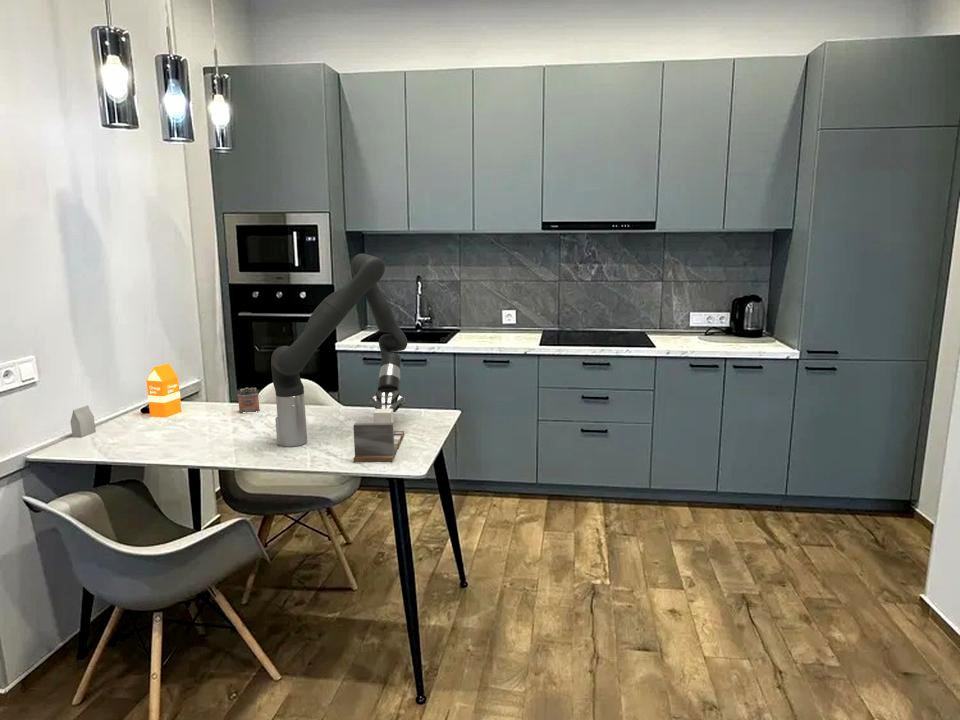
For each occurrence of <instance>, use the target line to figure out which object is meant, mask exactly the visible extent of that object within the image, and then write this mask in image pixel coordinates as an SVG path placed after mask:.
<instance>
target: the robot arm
mask: <svg viewBox="0 0 960 720" xmlns="http://www.w3.org/2000/svg"><path fill="white" fill-rule="evenodd" d="M350 270H351V273H352V274H353V278H352V279H351V280H350V281H349V282H348V283H347V284H345V285H343V286H342V287H341V288H338V289H337V290H335V291H333V292H332V293H330V294H328V295H327V297H325V298H324V299H323V300H322V301H321V302H320V303H319V304H318V305H317V307H316V308H315V309H314V311H313V312H312V313H311V315H310V316H309V319H308V321H307V322H306V325H305V327H304V329H303V331H302V333H301V334H300V335H299V336H298V337H297V339H295V340H294V341H293V343H292V344H291V345H289V346H288V345H282V346H279V347H276V349H275V350H274V351H273V352H272V353H271V354H272V355H271V359H270V365H271V368H270V369H271V376H272V385H273V388H274V390H275V403H276V415H277V416H276V417H275V419H274V420H275V430H276V431H275V432H276V443H277V444H276V445H277V446H280V447H281V446H282V447H298V446H299V447H300V446H303V445H305V444H307V442H308V430H307V415H306V414H307V413H306V403H305V401H306V400H305V388H304V384H303V382H302V379H301V376H300V372H302V371H303V370H304V369H305V367H306V365H307V364H308V363H309V361H310V359H311V358H312V357H313V356H314V353H315V352H316V351H317V350H318V348H319V347H320V346H321V345H322V344H323V343H324V342H325V340H326V339H327V338H328V337H329V336H330V335H331V334H332V332H333V331H335V329H336V328H338V326H339V325H340V324H341V323H342V321H343V320H345V318H346V317H347V315H348V314H349V313H350V312H351V310H352V309H353V308H354V307H355V306H356V305H357V304H358V303H359V301H360V300H362V298H363V297H365V299H366V301H367V303H368V306H369V308H370V310H371V313H372V316H373V318H374V322H375V324H376V327H377V330H378V331H379V332H381V333H383V335H382V334H381V336H380V337H379V339H378V347H379V351H380V355H381V357H380V358H381V360H380V361H381V363H380V370H379V374H378V383H377V391H376V393H375V395H374V396H370V397H369V402H370V404H371V405H372V406H373V407H374V410H375V409H393V413H396V412H397V411H398V410H399V408H401V407H402V406H403V404H405V402H406V400H405V397H404V396H401V395H400V382H401V362H402V360H401V359H402V358H401V356H400V354H398V353H396V352H402V351H405V350H407V347H408V339H407V337H406V333H404V331H403V330H402V329H401V327H400V326H399V324H398V323H397V321H396V319H395V316H394V315H395V314H394V313H393V309H392V307H391V305H390V302H388V300H387V298H386V297H385V295H384V294H383V293H382V291H381V289H380V287H379V286H378V285H379V284H378V283H379V282H380V280H381V279H382V278H383V276H384V274H385V270H386V266H385V263H384V261H383V260H382V259H380V258H379V257H377V256H374V255H370V254H368V253H358V254H356V255H355V256H354V257H353V258H352V259H351V262H350ZM384 333H386V334H384ZM378 402H379V403H380V404H381V406H380V405H379V403H378Z"/></svg>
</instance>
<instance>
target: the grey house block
mask: <svg viewBox="0 0 960 720" xmlns="http://www.w3.org/2000/svg"><path fill="white" fill-rule="evenodd" d="M69 422H70V430H71V435H72V438H77V439H78V438H80V439H81V438H84V437H86V436H89V435H92V434H95V433H96V425H95V424H96V423H95V416H94V414H93V413H92V411H91V409H90V407H89V405H84V406H81V407H79V408H77V409H73V410H72V415H71V417H70V421H69Z"/></svg>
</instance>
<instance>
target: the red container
mask: <svg viewBox="0 0 960 720" xmlns="http://www.w3.org/2000/svg"><path fill="white" fill-rule="evenodd" d="M239 392H240V393H237V399H238V413H239V412H240V413H239V414H244V413H243V412H256V411H260V412H261V409H260V400H259V399H260V398H259V392H257V387H250V388H249V387H245V388H240V389H239Z"/></svg>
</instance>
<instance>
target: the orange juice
mask: <svg viewBox="0 0 960 720" xmlns="http://www.w3.org/2000/svg"><path fill="white" fill-rule="evenodd" d="M179 383H180V382H179V376H178V375H177V373H176V372H175V371H174V368H173V367H172V366H171V364H170V363H163V364H160V365H156V366H152V369H151V371H150V373H149V375H148V376H147V379H146V389H147V391H146V392H147V400H148V409H149V416H150V417H155V418H168V417H171V416H174V415H177V414H179V413H182V404H181V403H182V402H181V401H182V400H181V392H180V384H179Z"/></svg>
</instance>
